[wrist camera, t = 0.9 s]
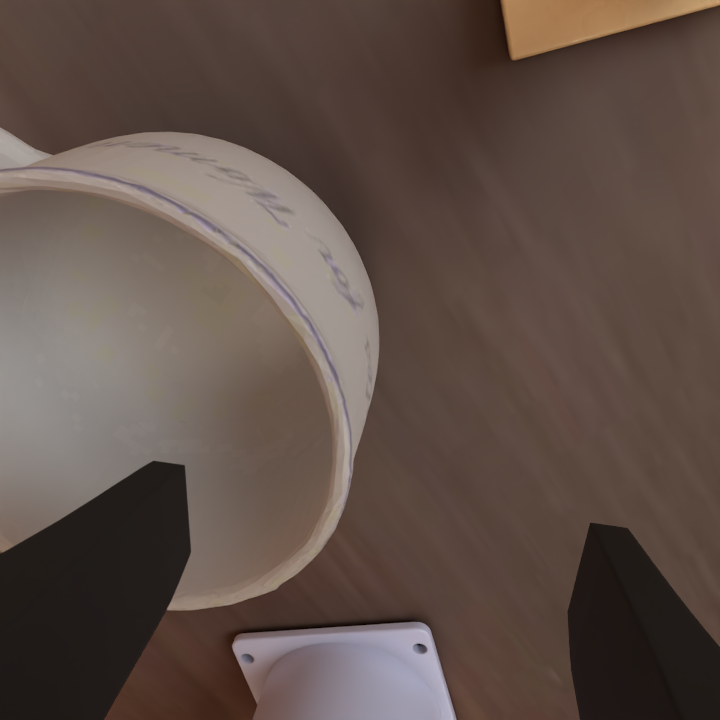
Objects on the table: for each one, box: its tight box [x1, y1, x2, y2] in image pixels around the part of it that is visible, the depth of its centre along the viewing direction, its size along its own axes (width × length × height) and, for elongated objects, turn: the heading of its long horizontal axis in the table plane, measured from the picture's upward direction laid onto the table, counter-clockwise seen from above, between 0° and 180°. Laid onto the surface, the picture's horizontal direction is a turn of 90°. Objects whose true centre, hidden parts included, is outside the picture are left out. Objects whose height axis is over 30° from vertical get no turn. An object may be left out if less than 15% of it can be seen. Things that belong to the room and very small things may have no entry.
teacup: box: [0, 128, 379, 610], centre depth 17 cm, size 14×11×8 cm
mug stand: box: [500, 0, 720, 60], centre depth 13 cm, size 12×6×8 cm, turn 15°
